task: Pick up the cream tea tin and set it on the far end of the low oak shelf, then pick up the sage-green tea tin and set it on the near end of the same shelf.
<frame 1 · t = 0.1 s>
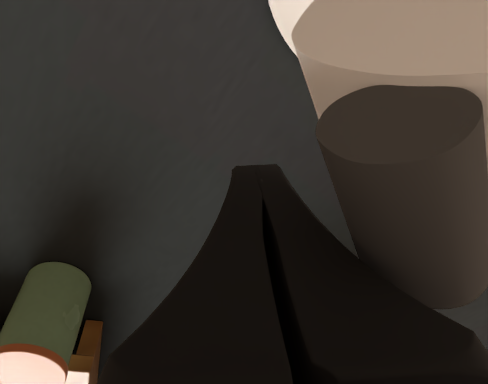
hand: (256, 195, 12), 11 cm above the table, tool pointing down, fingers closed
sage tin: (59, 283, 29), on the table
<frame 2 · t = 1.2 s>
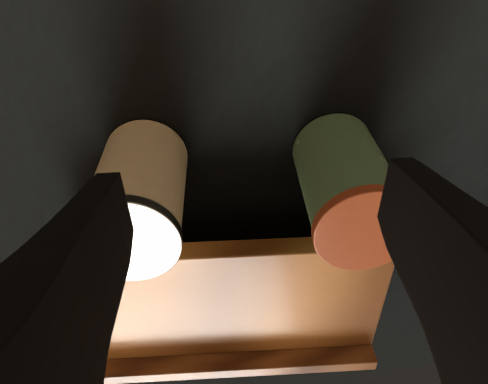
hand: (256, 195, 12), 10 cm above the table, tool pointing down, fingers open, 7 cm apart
shelf: (229, 260, 27), on the table
sage tin: (331, 148, 22), on the table
cream tin: (147, 155, 22), on the table
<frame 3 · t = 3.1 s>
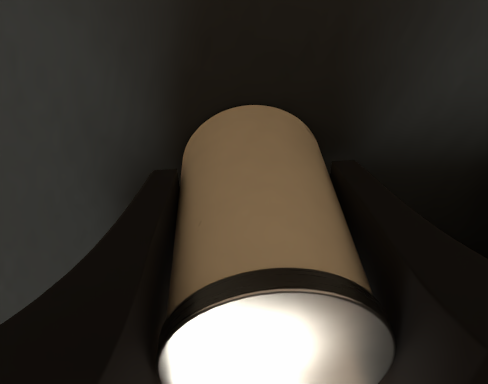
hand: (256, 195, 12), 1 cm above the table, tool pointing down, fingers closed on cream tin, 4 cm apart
cream tin: (251, 166, 13), on the table, touching gripper
when the fingers open (5 cm above the table, at t = 6.5 s): cream tin stays where it is, resting on shelf.
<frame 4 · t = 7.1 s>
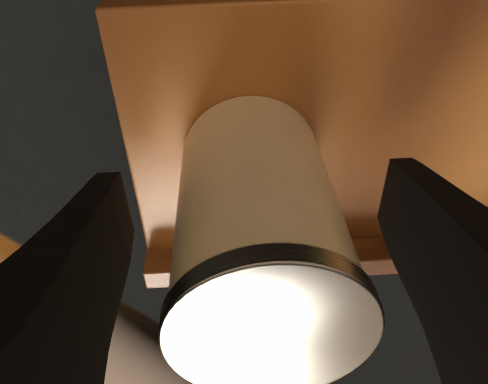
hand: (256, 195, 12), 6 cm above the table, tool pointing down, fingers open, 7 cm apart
shelf: (365, 94, 17), on the table
cream tin: (249, 156, 13), point 4 cm above the table, touching shelf
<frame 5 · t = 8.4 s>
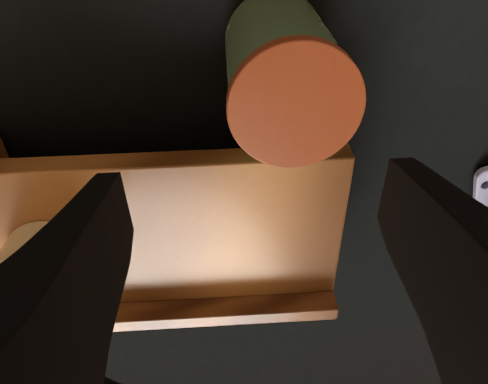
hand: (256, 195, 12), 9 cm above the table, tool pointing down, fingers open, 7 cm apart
shelf: (166, 194, 23), on the table
sage tin: (273, 40, 18), on the table
cream tin: (54, 254, 20), point 4 cm above the table, touching shelf
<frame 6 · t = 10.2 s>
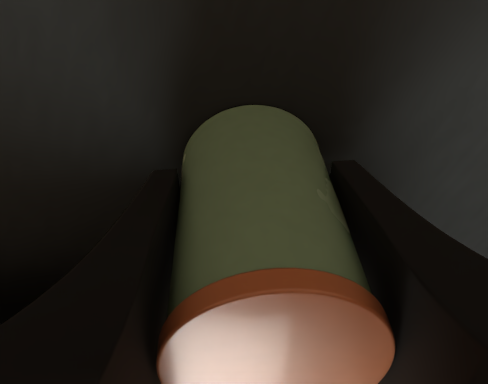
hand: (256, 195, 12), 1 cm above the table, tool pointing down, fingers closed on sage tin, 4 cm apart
sage tin: (251, 166, 13), on the table, touching gripper
when the fingers open (5 cm above the table, at t = 13.3 s): sage tin stays where it is, resting on shelf.
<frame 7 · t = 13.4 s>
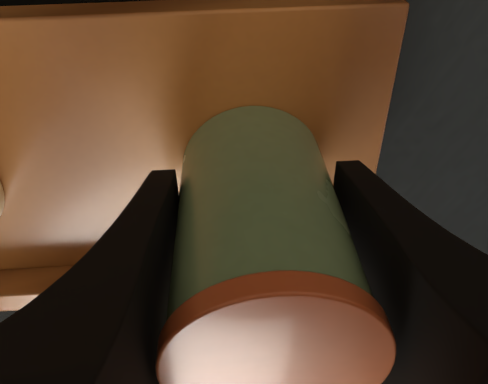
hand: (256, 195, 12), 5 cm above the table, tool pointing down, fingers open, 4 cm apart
shelf: (118, 112, 16), on the table
sage tin: (251, 167, 13), point 4 cm above the table, touching shelf
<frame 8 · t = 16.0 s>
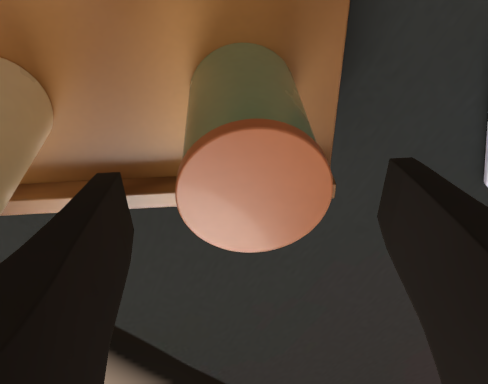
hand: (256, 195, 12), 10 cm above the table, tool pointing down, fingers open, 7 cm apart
shelf: (136, 61, 20), on the table
sage tin: (242, 94, 17), point 4 cm above the table, touching shelf
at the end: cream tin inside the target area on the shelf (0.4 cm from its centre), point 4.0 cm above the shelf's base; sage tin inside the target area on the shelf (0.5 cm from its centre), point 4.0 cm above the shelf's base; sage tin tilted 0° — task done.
